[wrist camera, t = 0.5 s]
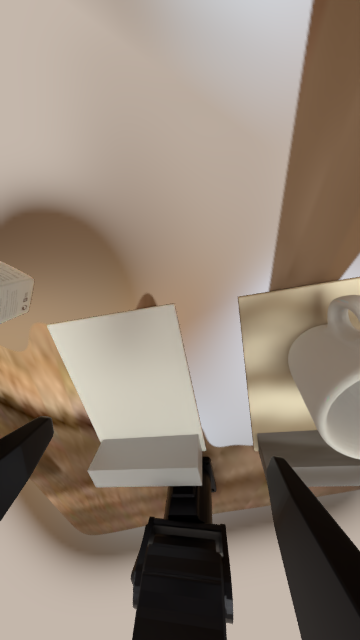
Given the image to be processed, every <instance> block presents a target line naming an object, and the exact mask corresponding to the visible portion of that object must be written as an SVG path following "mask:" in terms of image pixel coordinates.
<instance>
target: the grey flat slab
mask: <svg viewBox="0 0 360 640" xmlns="http://www.w3.org/2000/svg"><path fill="white" fill-rule="evenodd" d="M47 327H48V329H49V331H50V334H51V336H52V338H53V340H54V342H55V344H56V347H57V349H58V351H59V353H60V355H61V357H62V360H63V362H64V364H65V366H66V368H67V370H68V373H69V375H70V377H71V379H72V381H73V383H74V386H75V388H76V390H77V392H78V394H79V396H80V399H81V401H82V403H83V405H84V407H85V409H86V412H87V414H88V416H89V418H90V420H91V422H92V425H93V427H94V429H95V431H96V433H97V435H98V438H99V440H100V442H101V445H100V447H99V449H98V451H97V453H96V455H95V457H94V459H93V461H92V463H91V465H90V467H89V469H88V473H89V475H90V476H91V478H92V480H93V482H94V484H95V486H96V487H144V486H202V451H206V446H205V441H204V436H203V432H202V427H201V423H200V418H199V414H198V409H197V405H196V400H195V396H194V391H193V386H192V381H191V377H190V372H189V368H188V364H187V359H186V354H185V350H184V345H183V340H182V336H181V331H180V327H179V322H178V317H177V313H176V308H175V304H174V303H172V304H166V305H161V306H154V307H149V308H143V309H137V310H131V311H125V312H119V313H113V314H107V315H101V316H95V317H89V318H83V319H77V320H71V321H65V322H59V323H53V324H49V325H47Z"/></svg>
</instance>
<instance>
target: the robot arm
mask: <svg viewBox="0 0 360 640" xmlns="http://www.w3.org/2000/svg"><path fill="white" fill-rule="evenodd" d="M53 433H54V430H53V423H52V419H51V417H46V416H40V417H38V418H36V419H34V420H33V421H31V422H29V423H27V424H25V425H24V426H22V427H20V428H18V429H17V430H15V431H13V432H11V433H10V434H8V435H6V436H4V437H3V438H1V439H0V521H1V520H2V518H3V517H4V515H5V514H6V512H7V511H8V509H9V508H10V506H11V505H12V503H13V502H14V500H15V499H16V497H17V496H18V494H19V493H20V491H21V490H22V488H23V487H24V485H25V484H26V482H27V481H28V479H29V478H30V476H31V474H32V473H33V471H34V469H35V467H36V466H37V464H38V462H39V460H40V458H41V457H42V455H43V453H44V451H45V450H46V448H47V446H48V444H49V442H50V441H51V439H52V437H53ZM266 476H267V483H268V489H269V496H270V502H271V509H272V515H273V520H274V526H275V531H276V535H277V539H278V544H279V547H280V552H281V556H282V560H283V564H284V568H285V572H286V576H287V580H288V585H289V588H290V593H291V597H292V601H293V605H294V609H295V613H296V617H297V621H298V626H299V630H300V634H301V638H302V640H360V551H359V550H358V548H357V547H356V546H355V545H354V544H353V542H352V541H351V540H350V539H349V537H348V536H347V535H346V534H345V532H344V531H343V530H342V529H341V528H340V526H339V525H338V524H337V522H336V521H335V520H334V519H333V518H332V516H331V515H330V514H329V513H328V511H327V510H326V509H325V508H324V507H323V505H322V504H321V503H320V502H319V501H318V499H317V498H316V497H315V495H314V494H313V493H312V492H311V490H310V489H309V488H308V487H307V486H306V484H305V483H304V482H303V481H302V479H301V478H300V477H299V476H298V474H297V473H296V472H295V471H294V470H293V468H292V467H291V466H290V465H289V463H288V462H287V461H286V460H285V459H284V458H283V457H279V456H272V457H271V459H270V462H269V464H268V467H267V470H266ZM211 492H216V484H215V479H214V475H213V470H212V465H211V461H210V459H209V458H202V486H168V492H167V500H166V507H165V514H164V519H159V518H155V517H150V518H149V522H148V524H147V525H146V527H145V532H144V536H143V541H142V544H141V548H140V551H139V554H138V556H137V559H136V562H135V565H134V567H133V570H132V574H131V581H132V584H133V607H134V608H135V609H137V610H136V617H135V624H134V631H133V638H132V640H227V637H226V623H231V624H233V598H232V583H231V573H230V563H229V555H228V545H227V536H226V526H225V524H220V525H217V524H216V525H215V524H212V498H211Z"/></svg>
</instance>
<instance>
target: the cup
mask: <svg viewBox="0 0 360 640" xmlns="http://www.w3.org/2000/svg"><path fill="white" fill-rule="evenodd" d="M348 309H349V310H351V311H352V312H353V313H354V314H355V315H356V317H357V318H358V320H359V323H360V295H346V296H341V297H338V298H336V299H334V300H332V301H331V303H330V304H329V307H328V313H327V320H328V324H325V325H320V326H316V327H313V328H311V329H309V330H307V331H305V332H304V333H302V334H301V335H300V336H299V337H298V338H297V339H296V340H295V341H294V343H293V344H292V346H291V348H290V350H289V354H288V365H289V369H290V372H291V375H292V377H293V379H294V381H295V383H296V385H297V388H298V390H299V392H300V394H301V396H302V398H303V400H304V402H305V405H306V407H307V409H308V411H309V413H310V415H311V417H312V419H313V422H314V424H315V426H316V428H317V430H318V432H319V434H320V435H321V437H322V438H323V439H324V441H325V442H326V443H327V444H328V445H329V446H331V447H332V448H333V449H335V450H336V451H338V452H340V453H342V454H344V455H346V456H349V457H352V458H355V459H360V330H357V329H356V328H355V327H354V326H353V325H352V324H351V322H350V320H349V316H348Z"/></svg>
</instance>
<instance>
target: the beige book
mask: <svg viewBox="0 0 360 640" xmlns="http://www.w3.org/2000/svg"><path fill="white" fill-rule="evenodd" d="M346 295H360V277H356V278H350V279H344V280H338V281H331V282H325V283H319V284H313V285H307V286H301V287H295V288H289V289H283V290H276V291H270V292H265V293H258V294H253V295H246V296H240V297H238V303H239V313H240V322H241V332H242V342H243V351H244V360H245V370H246V380H247V389H248V399H249V408H250V418H251V427H252V437H253V446H254V451H259V454H260V458H261V462H262V465H263V469H264V473H265V477H266V480H267V476H266V470H267V467H268V464H269V462H270V459H271V457H272V456H279V457H283V458H284V459H285V460H286V461H287V462H288V463H289V465H290V466H291V467H292V468H293V470H294V471H295V472H296V473H297V474H298V476H299V477H300V478H301V479H302V481H303V482H304V483H305V484H306V486H307V487H311V486H360V459H355V458H352V457H349V456H346V455H344V454H342V453H340V452H338V451H336V450H335V449H333V448H332V447H331V446H329V445H328V444H327V443H326V442H325V441H324V439H323V438H322V437H321V435H320V434H319V432H318V430H317V428H316V426H315V424H314V422H313V419H312V417H311V415H310V413H309V411H308V409H307V407H306V405H305V402H304V400H303V398H302V396H301V394H300V392H299V390H298V388H297V385H296V383H295V381H294V379H293V377H292V375H291V372H290V369H289V365H288V354H289V350H290V348H291V346H292V344H293V343H294V341H295V340H296V339H297V338H298V337H299V336H300V335H301V334H302V333H304V332H305V331H307V330H309V329H311V328H313V327H316V326H320V325H325V324H328V320H327V313H328V307H329V304H330V303H331V301H332V300H334V299H336V298H338V297H341V296H346ZM348 316H349V320H350V322H351V324H352V325H353V326H354V327H355V328H356V329H357V330H360V323H359V320H358V318H357V317H356V315H355V314H354V313H353V312H352V311H351V310H349V309H348ZM267 484H268V483H267Z"/></svg>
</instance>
